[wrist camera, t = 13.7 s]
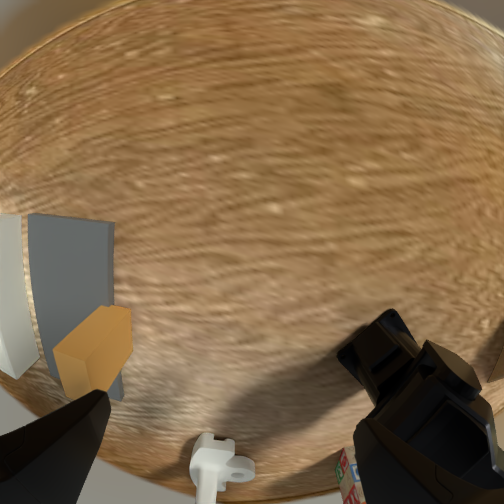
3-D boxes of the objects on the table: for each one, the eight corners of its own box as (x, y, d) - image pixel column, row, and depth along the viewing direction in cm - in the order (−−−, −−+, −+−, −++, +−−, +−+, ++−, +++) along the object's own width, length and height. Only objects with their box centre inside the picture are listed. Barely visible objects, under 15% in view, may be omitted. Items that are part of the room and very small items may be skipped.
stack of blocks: (466, 406, 26) (505, 454, 14) (451, 432, 27) (483, 479, 15) (342, 447, 25) (367, 525, 13) (333, 470, 27) (351, 539, 15)
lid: (139, 223, 19) (72, 247, 11) (142, 394, 23) (114, 458, 14) (40, 212, 19) (-31, 227, 10) (58, 366, 23) (18, 412, 14)
